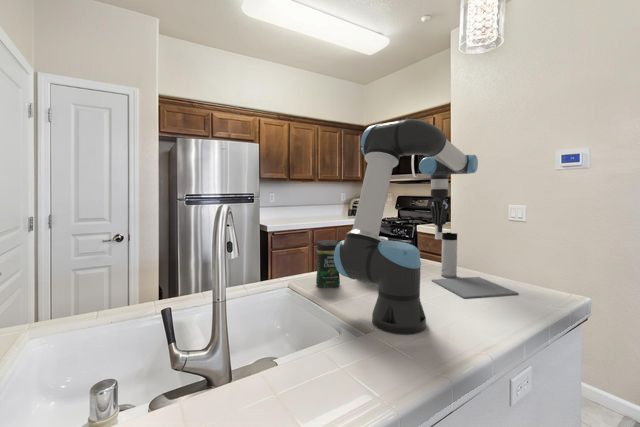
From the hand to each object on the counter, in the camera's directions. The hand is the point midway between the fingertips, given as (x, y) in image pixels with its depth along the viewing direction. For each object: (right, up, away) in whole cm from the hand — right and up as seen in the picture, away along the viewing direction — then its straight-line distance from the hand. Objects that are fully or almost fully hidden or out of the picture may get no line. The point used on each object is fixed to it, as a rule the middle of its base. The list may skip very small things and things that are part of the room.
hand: (438, 239), depth 147 cm
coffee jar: (-52, -18, -19) cm, 58 cm away
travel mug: (+2, -16, -8) cm, 18 cm away
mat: (+4, -17, -23) cm, 29 cm away
